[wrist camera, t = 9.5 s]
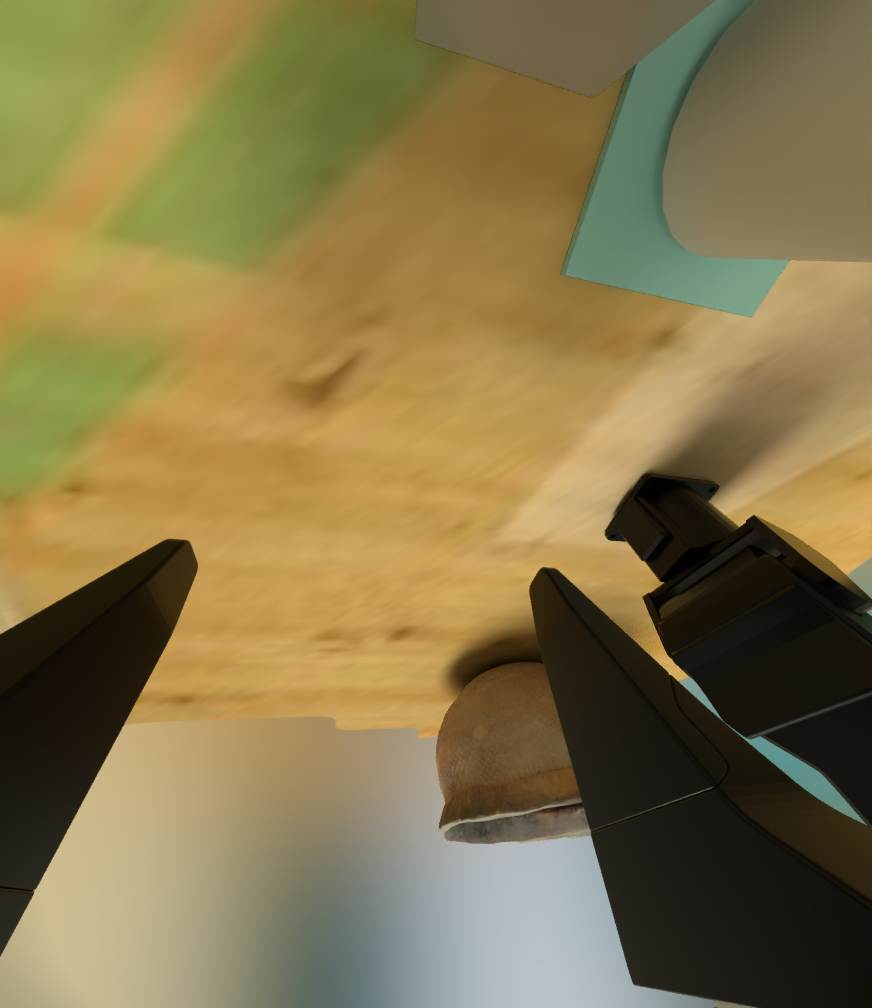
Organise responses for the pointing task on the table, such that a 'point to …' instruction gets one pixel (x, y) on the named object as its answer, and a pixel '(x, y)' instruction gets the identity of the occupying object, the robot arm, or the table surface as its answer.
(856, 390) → the table surface
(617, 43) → the unit
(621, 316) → the table surface
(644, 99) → the mat
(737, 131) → the can
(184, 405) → the table surface
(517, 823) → the ceramic bowl
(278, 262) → the table surface
